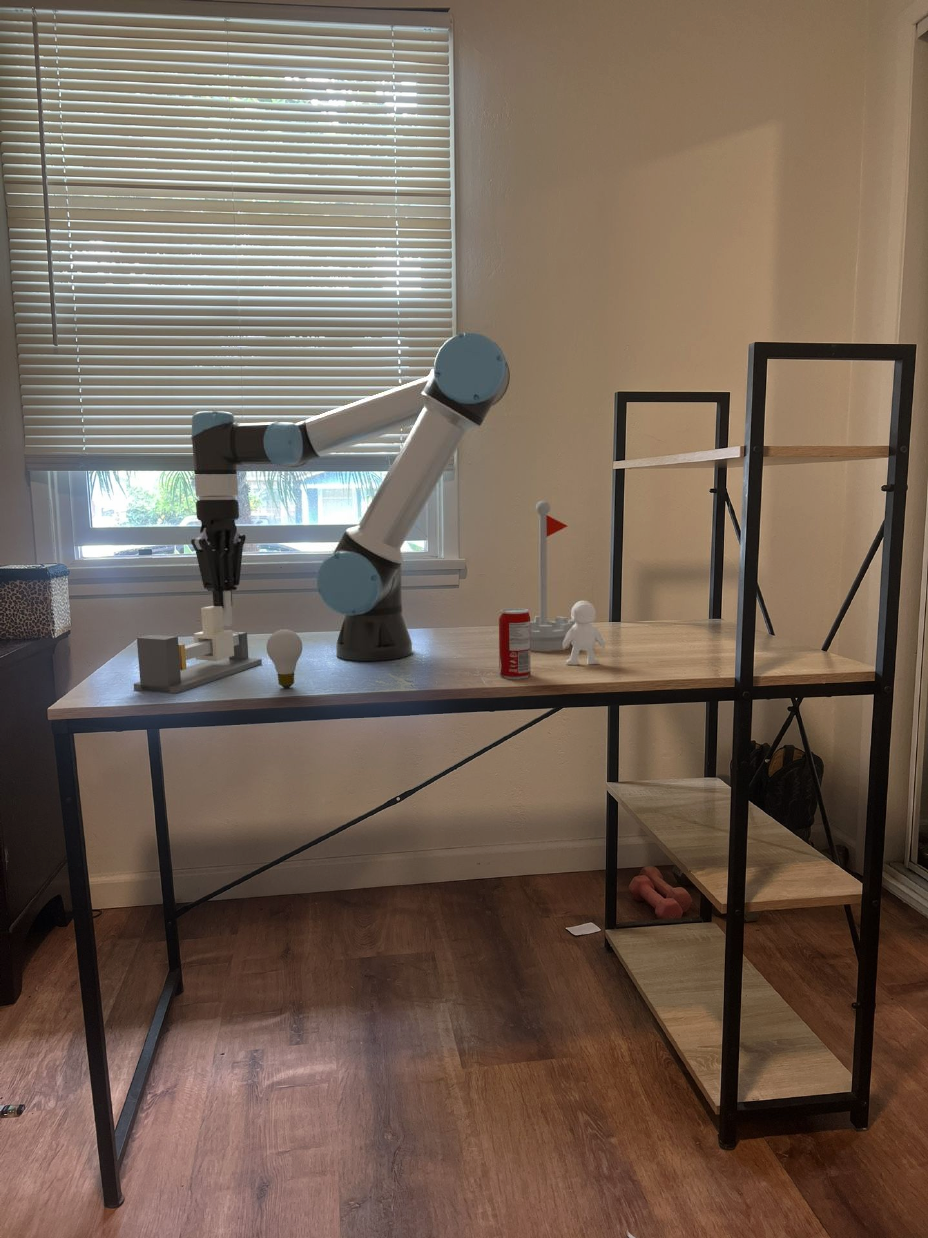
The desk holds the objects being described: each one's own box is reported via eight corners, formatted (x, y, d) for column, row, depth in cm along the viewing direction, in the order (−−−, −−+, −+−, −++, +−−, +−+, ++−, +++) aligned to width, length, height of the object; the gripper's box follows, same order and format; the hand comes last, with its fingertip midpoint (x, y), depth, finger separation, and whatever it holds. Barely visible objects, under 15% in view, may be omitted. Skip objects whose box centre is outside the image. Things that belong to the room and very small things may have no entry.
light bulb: (271, 684, 144) (268, 627, 142) (306, 683, 144) (303, 626, 143) (266, 692, 138) (263, 633, 137) (302, 691, 139) (299, 632, 137)
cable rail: (261, 664, 161) (259, 617, 159) (176, 693, 139) (172, 640, 137) (223, 661, 164) (220, 615, 163) (134, 689, 142) (129, 637, 141)
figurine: (563, 667, 153) (563, 602, 151) (559, 662, 158) (559, 599, 156) (606, 666, 154) (607, 601, 152) (601, 661, 158) (602, 598, 156)
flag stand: (503, 650, 171) (501, 501, 166) (523, 638, 182) (522, 500, 178) (564, 654, 166) (565, 501, 161) (581, 642, 177) (582, 499, 173)
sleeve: (234, 655, 156) (231, 605, 155) (217, 661, 151) (213, 609, 150) (213, 654, 158) (209, 604, 156) (195, 659, 153) (192, 608, 152)
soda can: (508, 671, 151) (508, 605, 149) (535, 674, 148) (535, 607, 146) (493, 677, 146) (493, 609, 144) (521, 680, 144) (521, 611, 142)
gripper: (223, 497, 161) (229, 619, 164) (176, 499, 149) (184, 629, 153) (255, 497, 158) (261, 621, 162) (210, 499, 146) (217, 632, 150)
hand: (224, 625), depth 157 cm, fingers closed
